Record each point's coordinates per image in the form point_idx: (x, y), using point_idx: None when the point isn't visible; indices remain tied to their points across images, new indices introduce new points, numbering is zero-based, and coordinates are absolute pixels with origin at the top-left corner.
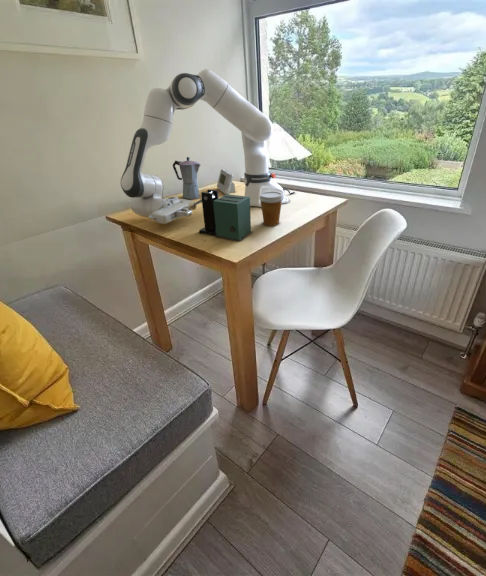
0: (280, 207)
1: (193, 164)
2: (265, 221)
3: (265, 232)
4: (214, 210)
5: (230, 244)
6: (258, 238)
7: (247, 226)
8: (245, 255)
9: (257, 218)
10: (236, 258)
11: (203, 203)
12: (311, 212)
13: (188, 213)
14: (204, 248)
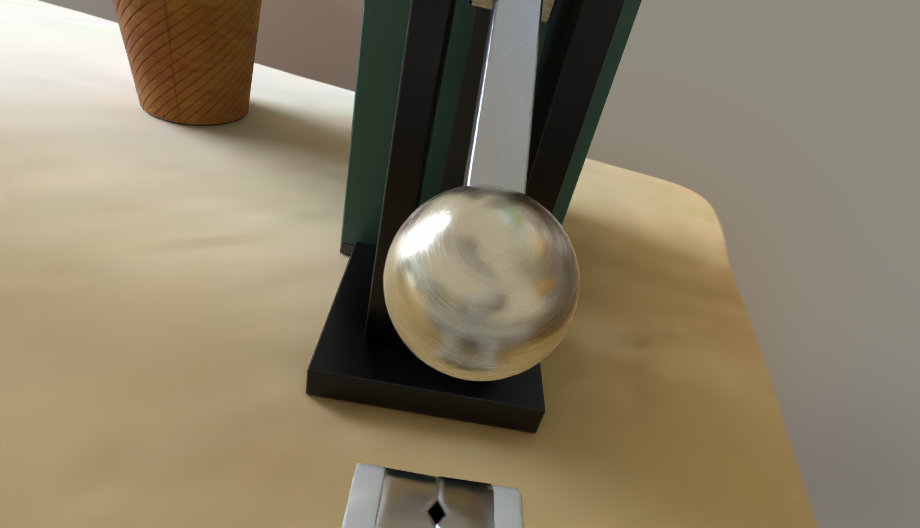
0: None
1: None
2: (237, 97)
3: None
4: (616, 68)
5: (587, 220)
6: None
7: None
8: (643, 174)
9: (70, 143)
10: (690, 193)
11: (596, 66)
12: (5, 8)
13: (490, 489)
14: (733, 311)
